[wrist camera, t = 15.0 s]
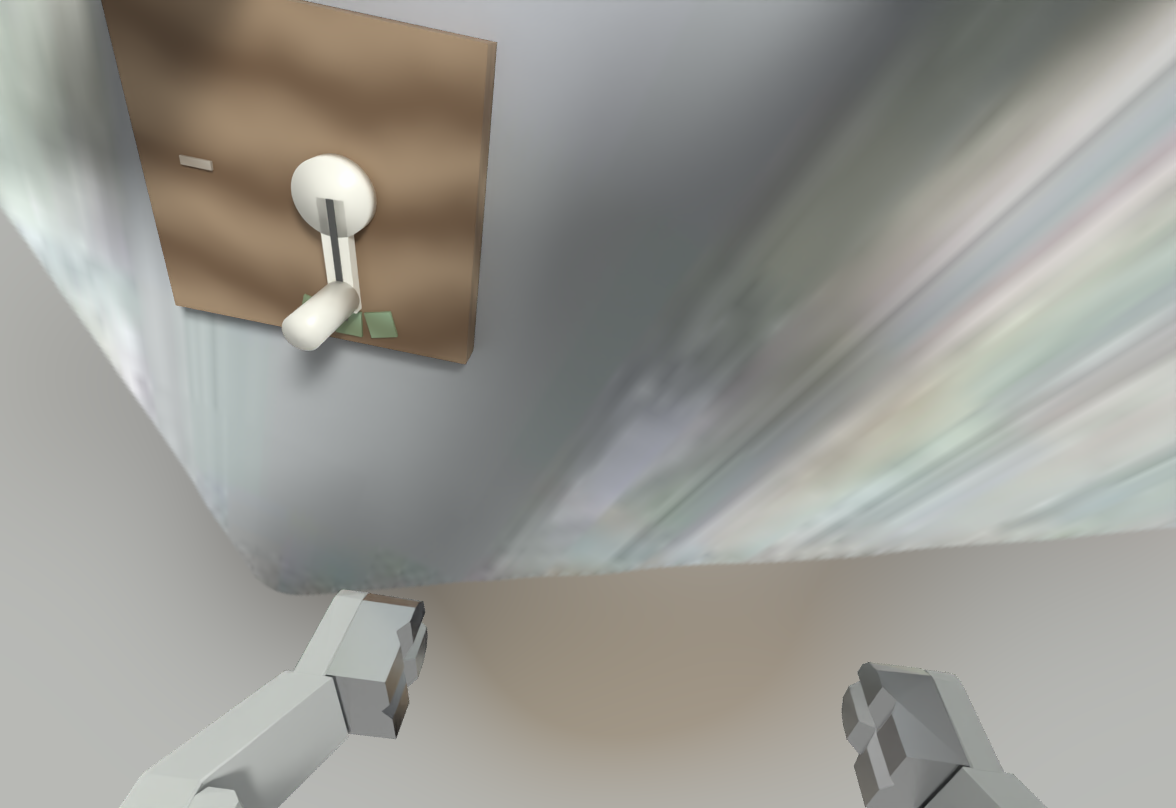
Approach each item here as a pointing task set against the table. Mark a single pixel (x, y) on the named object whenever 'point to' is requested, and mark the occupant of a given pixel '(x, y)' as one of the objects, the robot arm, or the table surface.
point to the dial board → (300, 132)
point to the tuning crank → (330, 242)
